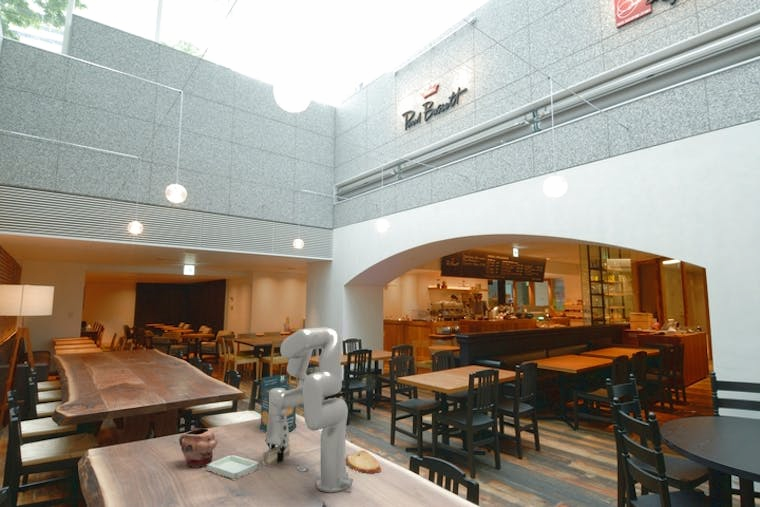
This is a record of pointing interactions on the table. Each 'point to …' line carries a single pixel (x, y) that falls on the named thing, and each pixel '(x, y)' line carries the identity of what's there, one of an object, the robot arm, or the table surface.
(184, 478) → the table surface
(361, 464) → the tan flat crusted slab
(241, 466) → the tray
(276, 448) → the birch block
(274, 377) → the donation box
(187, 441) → the decorative planter
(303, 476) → the table surface
